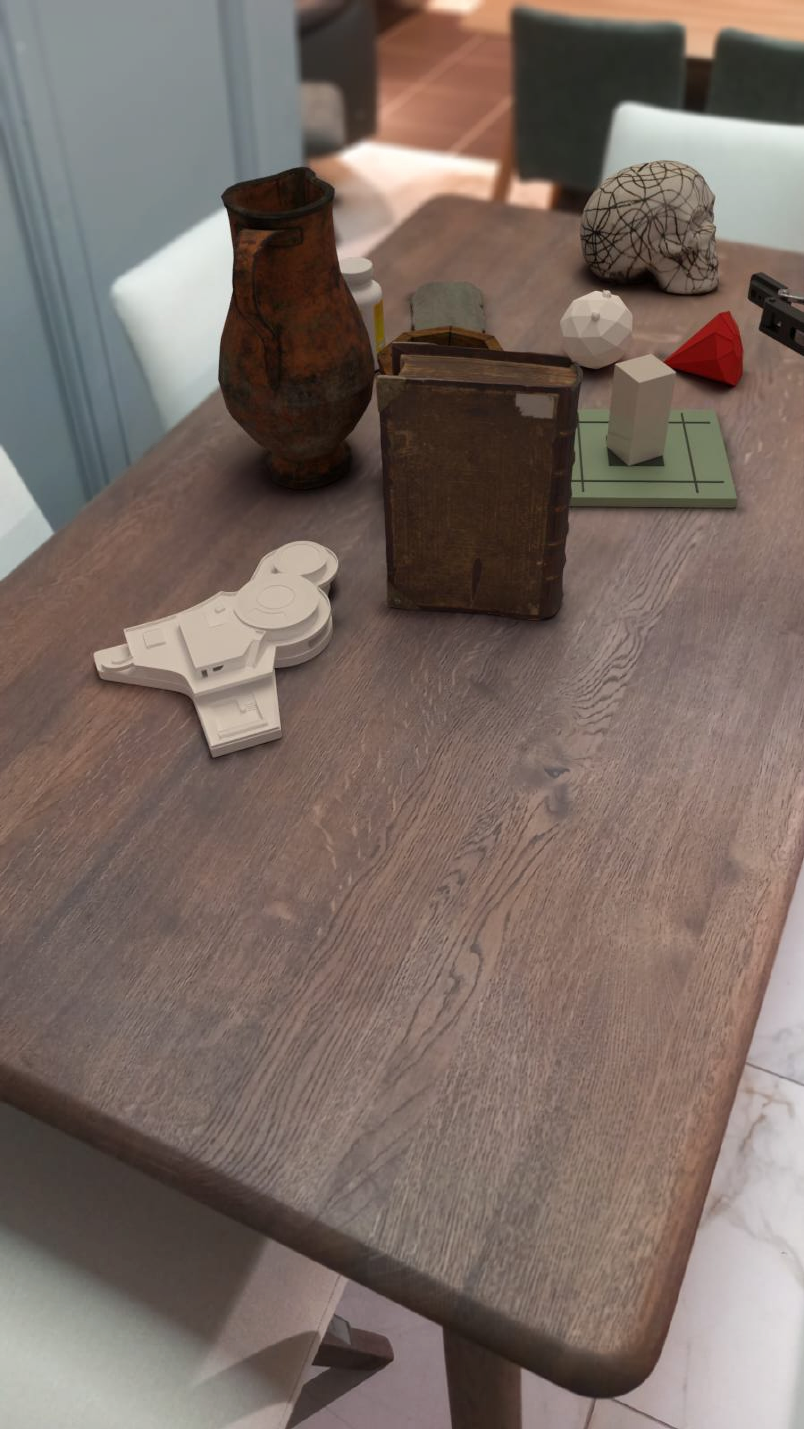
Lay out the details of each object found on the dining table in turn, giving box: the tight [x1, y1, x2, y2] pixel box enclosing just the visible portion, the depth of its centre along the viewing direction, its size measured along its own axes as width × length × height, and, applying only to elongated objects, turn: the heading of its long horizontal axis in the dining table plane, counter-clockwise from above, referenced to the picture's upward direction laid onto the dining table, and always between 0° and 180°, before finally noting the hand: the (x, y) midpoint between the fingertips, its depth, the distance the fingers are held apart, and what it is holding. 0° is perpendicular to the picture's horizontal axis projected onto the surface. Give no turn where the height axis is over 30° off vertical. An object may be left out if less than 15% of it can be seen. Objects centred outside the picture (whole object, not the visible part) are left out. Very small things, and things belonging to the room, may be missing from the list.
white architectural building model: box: [93, 540, 340, 759], centre depth 101 cm, size 23×25×4 cm
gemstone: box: [662, 310, 745, 387], centre depth 135 cm, size 9×9×10 cm
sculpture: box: [579, 159, 720, 295], centre depth 150 cm, size 15×20×15 cm
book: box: [375, 342, 584, 621], centre depth 98 cm, size 17×7×25 cm, turn 73°
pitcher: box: [217, 166, 376, 490], centre depth 113 cm, size 17×21×30 cm
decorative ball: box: [559, 289, 634, 370], centre depth 136 cm, size 9×10×12 cm
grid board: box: [569, 408, 738, 509], centre depth 123 cm, size 20×18×1 cm
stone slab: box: [410, 281, 487, 333], centre depth 146 cm, size 22×3×10 cm
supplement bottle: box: [338, 256, 387, 372], centre depth 136 cm, size 7×7×13 cm
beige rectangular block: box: [606, 353, 677, 466], centre depth 118 cm, size 5×5×10 cm
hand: (794, 273), depth 92 cm, fingers open, 8 cm apart
